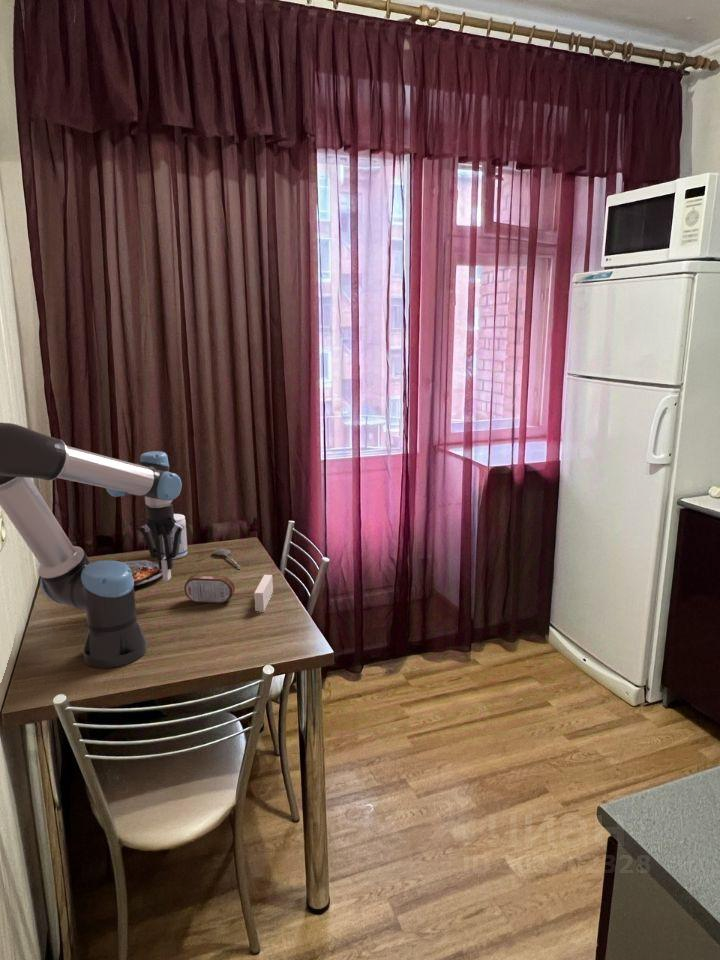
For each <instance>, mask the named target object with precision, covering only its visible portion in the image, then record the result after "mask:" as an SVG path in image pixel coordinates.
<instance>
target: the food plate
mask: <svg viewBox="0 0 720 960" xmlns="http://www.w3.org/2000/svg"><path fill="white" fill-rule="evenodd" d="M121 562H122V563H124V564H126V565H127V566H128V567H129V568H130V569H131V568H140V570H139V572H137V573H135V572H136V571H135V570H132V569H131V572H132V576H133V577H134V578H133V580H134V587H137V586H141V585H145V584H147V583H150V582H152V581H156V580H158V579H160V578H162V577H163V573H162V569H159V563H158V562H155V561H152V560H148V559H147V560H146V559H145V560H144V559H139V560H129V561H121ZM150 569H152V570H150Z"/></svg>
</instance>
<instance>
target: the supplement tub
mask: <svg viewBox="0 0 720 960" xmlns="http://www.w3.org/2000/svg"><path fill="white" fill-rule="evenodd" d="M174 519H175V521H176V523H177V524H178V525H180V526H181V525H183V526H184V529H183V530H182V532H181V538H180V544H179V551H178V555H177V556H176V557H175V558H172V560H177V558H178V559H180V558H181V559H182V558H184V557H186V556H187V555H188V540H187V539H188V538H187V522H186V516H185V515H184V514H181V513H174ZM174 529H175V528H173V529H172V531H171V546H172V549H173V542H174V535H175V531H174ZM162 540H163V550H164V554H165V546H164V539H163V535H162ZM164 557H166V555H165V556H164Z"/></svg>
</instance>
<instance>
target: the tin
mask: <svg viewBox="0 0 720 960" xmlns="http://www.w3.org/2000/svg"><path fill="white" fill-rule="evenodd" d="M183 589H184V593H185V596H186V597H187V598H188V599H189V600H190V601H192V602H194V603H200V604H201V603H203V604H207V603H209V604H225V603H226V602H228V601H230V600H231V598H232V597H233V595H234V594H235V585H234V582H233V581H232V580H231V579H230V578H229V577H227V576H225V575H220V574H219V575H218V574H217V575H216V574H194V575H191V576H190V577H189V578H188V579H187V581H186V582H185V584H184V588H183Z"/></svg>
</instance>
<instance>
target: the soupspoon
mask: <svg viewBox="0 0 720 960" xmlns="http://www.w3.org/2000/svg"><path fill="white" fill-rule="evenodd" d="M230 553H231V550H230V549H228V548H219V549H216V550H215V551H213V552H212V553H211V554H212V555H219V556H224V557H226V558H228V559H229V560H230V561H231V562H232V563H234V565H235V566H236V568H237V569H240V570H242V569H243V567H242V566H240V565H239V563H238V562H237V561H235V560H234V559H233V558H232V557H231V556H229V554H230ZM241 568H242V569H241ZM237 569H236V570H237Z"/></svg>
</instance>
